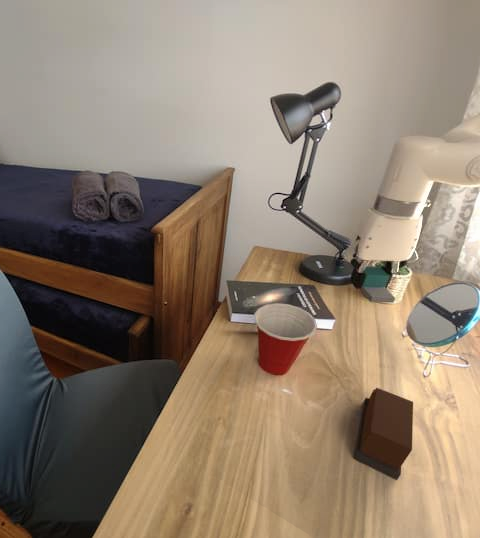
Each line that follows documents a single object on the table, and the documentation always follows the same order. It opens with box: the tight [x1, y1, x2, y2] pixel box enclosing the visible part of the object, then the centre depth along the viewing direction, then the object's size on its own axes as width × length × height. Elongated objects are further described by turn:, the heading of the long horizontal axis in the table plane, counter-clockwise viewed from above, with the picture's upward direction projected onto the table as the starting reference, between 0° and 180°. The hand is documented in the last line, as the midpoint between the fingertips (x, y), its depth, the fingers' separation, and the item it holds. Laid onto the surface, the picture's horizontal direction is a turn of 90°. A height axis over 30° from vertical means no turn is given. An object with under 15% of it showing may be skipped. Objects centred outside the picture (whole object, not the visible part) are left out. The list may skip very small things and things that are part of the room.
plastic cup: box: [253, 302, 318, 376], centre depth 69 cm, size 11×11×12 cm
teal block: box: [359, 265, 396, 304], centre depth 75 cm, size 9×4×4 cm, turn 174°
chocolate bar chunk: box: [353, 387, 414, 481], centre depth 57 cm, size 13×6×6 cm, turn 144°
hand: (367, 285), depth 77 cm, fingers closed on teal block, 4 cm apart
